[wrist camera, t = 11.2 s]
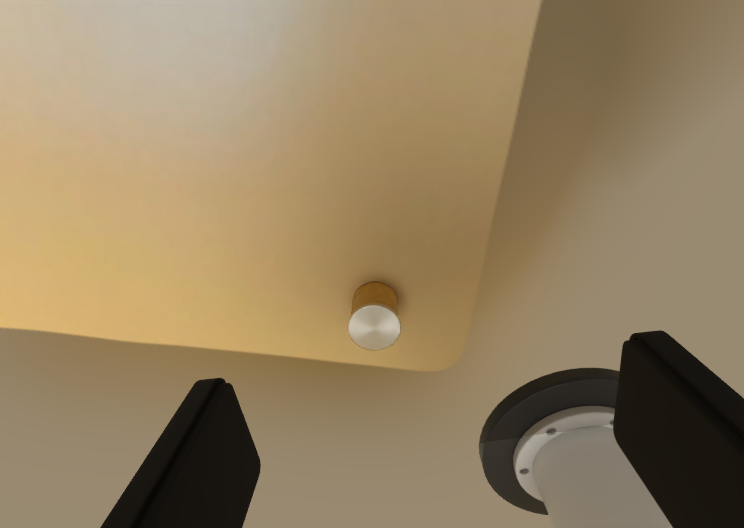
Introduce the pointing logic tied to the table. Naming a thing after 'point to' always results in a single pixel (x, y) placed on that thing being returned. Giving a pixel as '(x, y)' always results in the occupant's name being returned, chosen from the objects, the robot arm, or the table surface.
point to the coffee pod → (374, 317)
